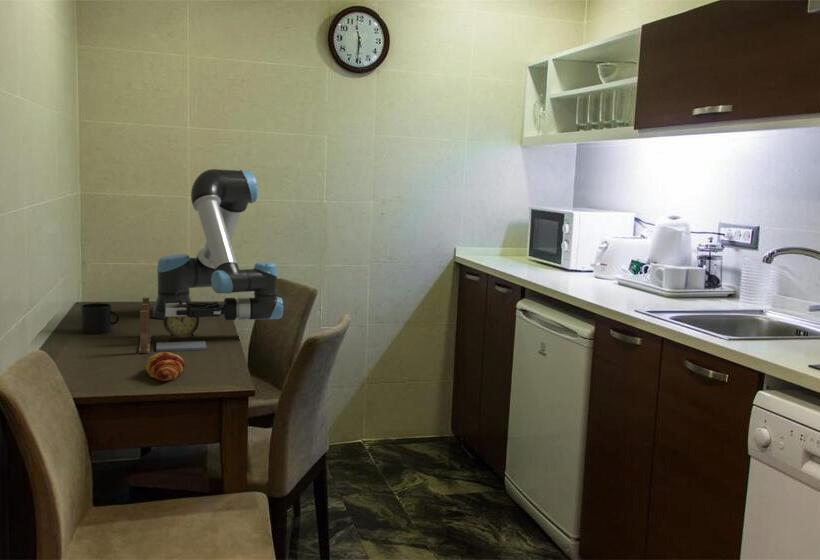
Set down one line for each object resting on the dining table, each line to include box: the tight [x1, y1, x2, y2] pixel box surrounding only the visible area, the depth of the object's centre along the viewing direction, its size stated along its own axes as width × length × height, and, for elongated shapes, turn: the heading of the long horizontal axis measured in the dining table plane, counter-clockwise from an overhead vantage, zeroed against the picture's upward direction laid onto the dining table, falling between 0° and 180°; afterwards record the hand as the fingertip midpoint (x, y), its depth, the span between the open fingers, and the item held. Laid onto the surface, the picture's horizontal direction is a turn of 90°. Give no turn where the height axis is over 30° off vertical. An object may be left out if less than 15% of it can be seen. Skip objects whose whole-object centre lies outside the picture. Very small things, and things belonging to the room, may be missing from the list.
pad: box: [155, 340, 208, 352], centre depth 239 cm, size 9×15×1 cm, turn 108°
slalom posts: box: [138, 297, 152, 354], centre depth 241 cm, size 26×3×13 cm, turn 18°
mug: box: [80, 302, 120, 335], centre depth 257 cm, size 9×12×9 cm
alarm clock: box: [162, 291, 200, 342], centre depth 249 cm, size 11×5×16 cm, turn 117°
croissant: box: [145, 351, 186, 382], centre depth 207 cm, size 21×10×8 cm, turn 20°
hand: (165, 309), depth 248 cm, fingers open, 8 cm apart
